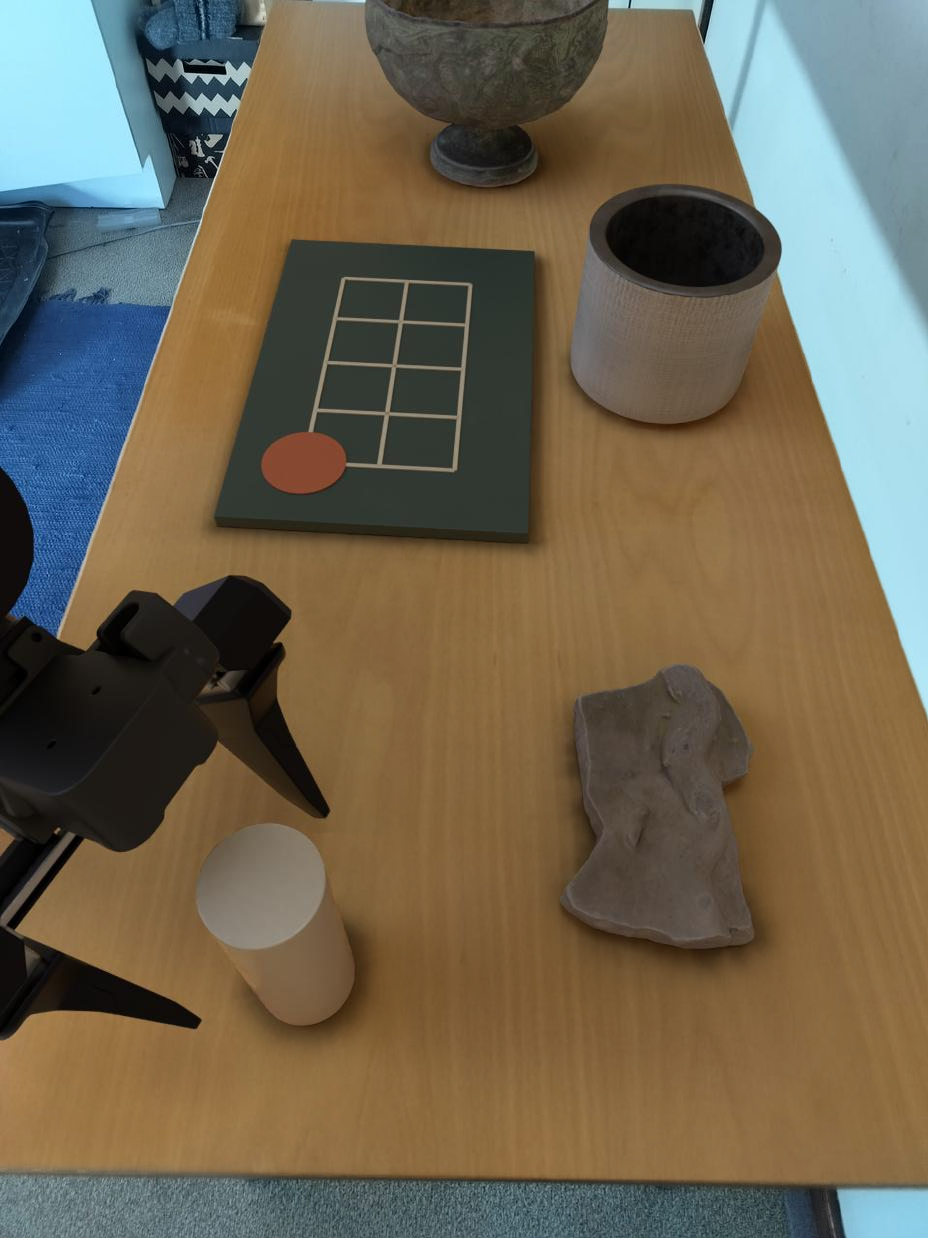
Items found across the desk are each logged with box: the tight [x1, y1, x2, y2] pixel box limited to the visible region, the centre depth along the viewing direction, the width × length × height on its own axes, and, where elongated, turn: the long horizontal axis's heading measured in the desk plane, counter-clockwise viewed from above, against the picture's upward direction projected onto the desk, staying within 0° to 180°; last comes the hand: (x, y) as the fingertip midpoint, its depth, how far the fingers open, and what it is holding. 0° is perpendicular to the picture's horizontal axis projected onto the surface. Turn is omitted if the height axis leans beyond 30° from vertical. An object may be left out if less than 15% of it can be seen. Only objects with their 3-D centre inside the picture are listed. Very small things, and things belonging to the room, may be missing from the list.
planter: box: [569, 183, 783, 425], centre depth 63 cm, size 12×13×11 cm
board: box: [213, 238, 536, 544], centre depth 67 cm, size 20×30×1 cm, turn 177°
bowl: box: [364, 0, 610, 188], centre depth 78 cm, size 20×19×15 cm
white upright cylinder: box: [195, 822, 356, 1027], centre depth 38 cm, size 5×5×13 cm
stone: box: [559, 663, 755, 950], centre depth 46 cm, size 15×10×4 cm, turn 173°
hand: (263, 912), depth 37 cm, fingers open, 9 cm apart
